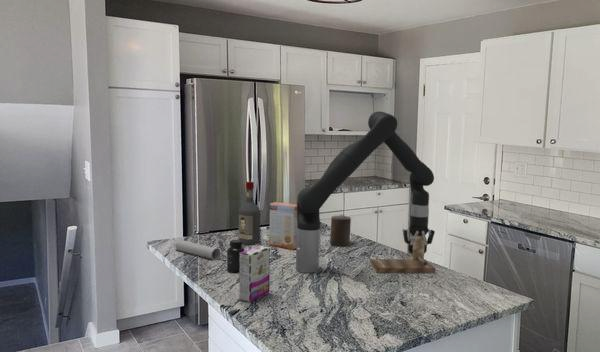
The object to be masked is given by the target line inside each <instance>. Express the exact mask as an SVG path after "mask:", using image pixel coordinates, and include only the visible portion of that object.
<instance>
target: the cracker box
mask: <svg viewBox="0 0 600 352" xmlns="http://www.w3.org/2000/svg"><path fill="white" fill-rule="evenodd" d="M268 229H269V233H268V234H269V236H268V237H269V238H268V239H269V241H268V246H271V247H276V248H277V247H278V248H283V249H288V250H290V251H291V250H293V251H294V250H296V245H297V203H296V204H295V203H287V202H279V201H275V202H271V203H269V228H268Z"/></svg>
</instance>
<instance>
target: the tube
mask: <svg viewBox="0 0 600 352" xmlns="http://www.w3.org/2000/svg"><path fill="white" fill-rule="evenodd" d="M174 248H175V249H176V250H177V251H178V252H182V253H186V254H190V255H194V256H198V257H201V258H206V259H208V260H212V261H216V260H218V259H219V258H220V257H221V249H219V247H214V246H213V247H212V246H209V245H205V244H201V243H196V242H191V241H187V240H183V239H181V240H177V241H176V243H175V246H174Z"/></svg>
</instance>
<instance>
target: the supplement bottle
mask: <svg viewBox="0 0 600 352" xmlns="http://www.w3.org/2000/svg"><path fill="white" fill-rule="evenodd" d="M226 251H227V253H226V254H227V255H226V269H227V272H228V273H229V272H230V273H233V274H234V273H235V274H236V273H238V274H240V258H239V253H240V252H243V251H246V250H245V248H244V247H243V244H242V240H239V239H231V240H230V241H229V247H228V248H227V250H226Z"/></svg>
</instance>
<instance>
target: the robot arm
mask: <svg viewBox="0 0 600 352" xmlns="http://www.w3.org/2000/svg"><path fill="white" fill-rule="evenodd" d="M367 122H368V123H367V125H368V128H369V131H368V132H367V133H366V134H365V135H364V136H362V137H361V138H360V139H358V140H357V141H355V142H353V143H351V144H349V145H347V146H346V147H345V148H343V149H342V150H341V151H340V152H339V153H338V154H337V155H336V157H334V158H333V160H332V161H331V162H330V164H329V165H328V167H327V169H326V170H325V172H324V173H323V175H322V176H321V177H320V179H319V180H317V181H316V182H315V183H314V184H313V185H312V186H311V187H305V188H302V189H301V190H300V192H299V193H298V195H297V198H296V199H297V202H296V205H297V245H296V249H295V269H296V272H298V273H299V272H301V273H307V274H310V273H317V272H319V270H320V269H319V268H320V243H321V218H320V217H321V216H320V209H321V208H322V206H323V205H324V204H325V203H326V201H328V198H330V196H331V195H332V194H333V193H334V191H336V190H337V189H338V188H339V187H340V186H341V185H342V184H343V183H344V182H345V181H346V180H347V179H348V178H349V177H350V176H351V175H352V174H354V172H355V171H356V170H357V169H358V168H359V167H360V166H361V165H362V163H364V161H365V160H367V158H368V157H369V156H370V155H371V154H372V153H373V152H374V151H375V150H376V149H377V148H379V147H380V145H382V144H383V143H384V144H385V145H386V146H387V147H388V149H389V150H390V151H391V152H392V154H393V155H394V156H395V157H396V159H397V160H398V161H399V163H400V164H401V166H402V167H403V168H404V169H405V170H406V171H407V172H409V173H410V174H409V184H410V189H411V195H412V196H411V206H410V218H409V220H410V223H409V227H408V229H405V228H403V229H402V234H403V235H402V236H403V240H404V242H405V244H407V245H408V250H407V251H408V252H409V254H411V253H413V240H414V241H415V239H416V237H417V236H423V239H424V241H425V246H424V255H425V254H426V253H427V249H428V248H427V247H428V245H431V244H432V243H433V239H434V236H435V231H434V230H433V229H430V228H429V227H428V226H429V217H430V215H429V214H430V213H429V212H430V210H429V209H430V208H429V207H430V205H429V204H430V193H429V191H427V190H425V188H424V186H425V187H428V186H431V185H432V184H433V183H434V181H435V176H434V173H433V170H432V169H431V168H430V167H428V166H427V165H426V164H425V163H424V162H423V161H421V159H419V156H418V155H417V154H416V153H415V151H414V150H413V149H412V148H411V147H410V146H409V145H408V144H407V143H406V142H405V141H404V140H403V139H402V138H401V137H400V136H399V135H398V133H396V130H397V128H398V120H397V118H396V117H395V116H394V115H392V114H390V113H388V112H385V111H374V112H373V113H371V114H370V115H369V117H368V121H367ZM409 234H410V236H408V235H409ZM427 234H428V236H427V237H426V235H427ZM412 236H413V238H412Z"/></svg>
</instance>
